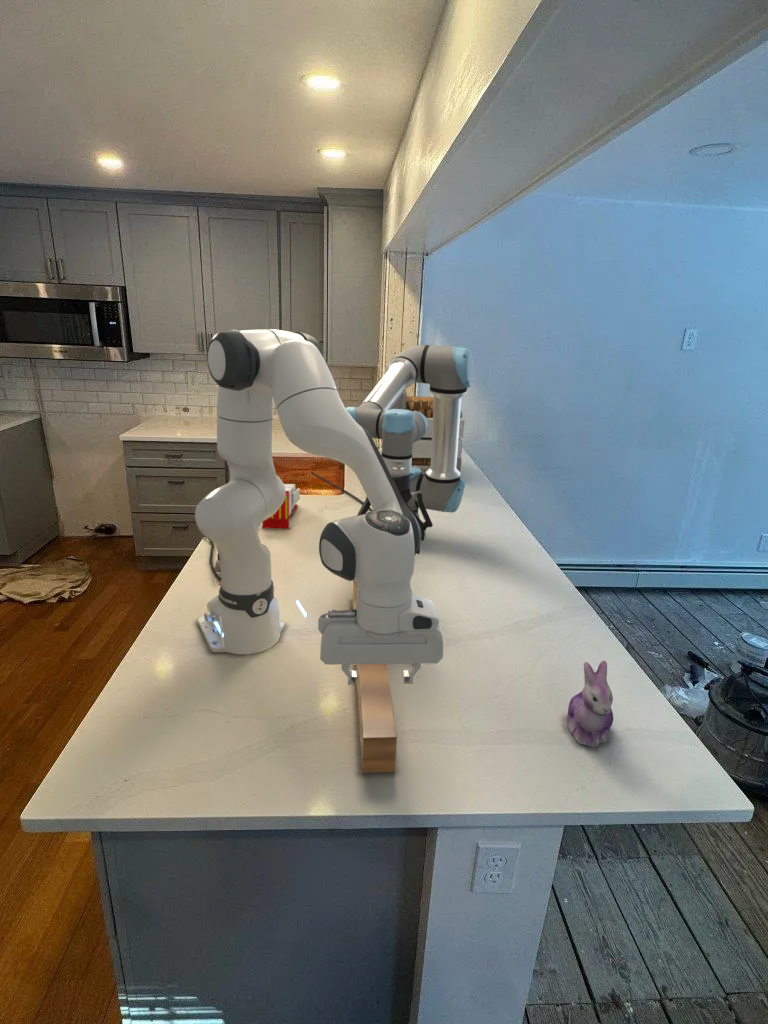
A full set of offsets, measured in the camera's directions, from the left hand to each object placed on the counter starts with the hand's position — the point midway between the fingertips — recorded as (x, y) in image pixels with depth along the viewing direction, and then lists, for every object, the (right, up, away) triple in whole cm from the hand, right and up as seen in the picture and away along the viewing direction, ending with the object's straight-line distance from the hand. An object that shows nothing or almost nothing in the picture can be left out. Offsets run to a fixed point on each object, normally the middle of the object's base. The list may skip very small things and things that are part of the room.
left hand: (379, 682), depth 96 cm
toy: (-38, +27, +116) cm, 125 cm away
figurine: (+40, -13, +13) cm, 44 cm away
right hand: (+3, +18, +51) cm, 54 cm away
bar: (-3, -6, +29) cm, 30 cm away
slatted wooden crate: (+18, +48, +179) cm, 186 cm away
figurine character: (-44, +12, +72) cm, 85 cm away
